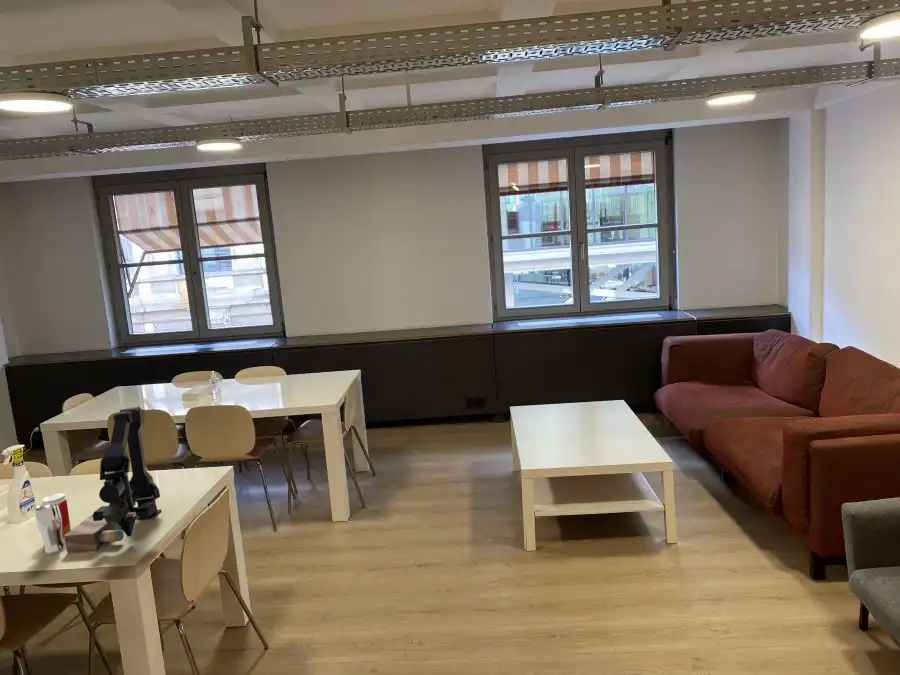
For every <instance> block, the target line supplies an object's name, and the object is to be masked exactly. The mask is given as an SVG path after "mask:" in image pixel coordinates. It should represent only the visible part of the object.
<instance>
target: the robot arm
mask: <svg viewBox="0 0 900 675" xmlns="http://www.w3.org/2000/svg"><path fill="white" fill-rule="evenodd" d="M145 419H146V413H145V410H144V409H142V408H141V407H140V406H135V407H128V408H127V407H126V408H121V409H120V410H119V412H116V413H114V415H113V423H114V424H113V428H112V429H113V430H112V433H111V438H110V443H109V447H107V449H105V450H104V452H103V455H102V458H101V459H100V465H99V466H100V468H99V481H103V486H102V487H101V489H100V490H99V493H98V496H99V499H100V500H101V501H102V502H103V503H106V504H109V505H102V506H100V507H99V508H98V509H96V510H95V511H93V521H102V520H103V519H105V521H106V522H107V523H109V522H116V523H118V524H119V525H120V527H121V528H122V529H123V533H125V535H126V537H128V538H129V537H132V534H133V532H134V527H135V523H136V521H137V520H145V519H147V520H148V519H154V518H155V517H156V516H157V515H159V513H161V512H162V509H158V507H157V502H156V500H158V499H159V498H161V494H160V493H161V492H160V488H159V487H158V486H157V484H156V482H154V478H153V476H152V475H151V474H150V473H149V472H148V470H147V464H146V458H145V452H144V445H143V438H142V432H141V431H142V429H143V427H144V425H145ZM127 447H128V448H127ZM127 449H128V452H127V451H126V450H127ZM128 453H129V455H128ZM130 466H131V468H130ZM130 469H131V474H132V476H131V478H130V479H129V475H128V473H129V472H130ZM136 503H137V504H136ZM136 505H137V506H136Z"/></svg>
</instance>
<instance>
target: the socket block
mask: <svg viewBox="0 0 900 675" xmlns="http://www.w3.org/2000/svg"><path fill="white" fill-rule="evenodd" d="M108 530H113V527H112V522H109V523H107V522H106V521H105V519H103V520H102V521H93V514H91V515H90V516H88V517H87V518H86V519H84V520H83V521H82V522H80V523H79V524H78V525H76V526H75V527H74V528H72V529H71V531H69V532H68V533H67V534H65V535H64V538H63V540H64V543H65V545H66V548H65V549H66V553H67V554H74V553H89V552H99V550H101V549H102V548H103V547H104V546H105V545H107V544H108V543H109V542H100V541H99V536H98V533H99V532H100V531H108ZM120 530H123V529H122V528H120Z"/></svg>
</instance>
